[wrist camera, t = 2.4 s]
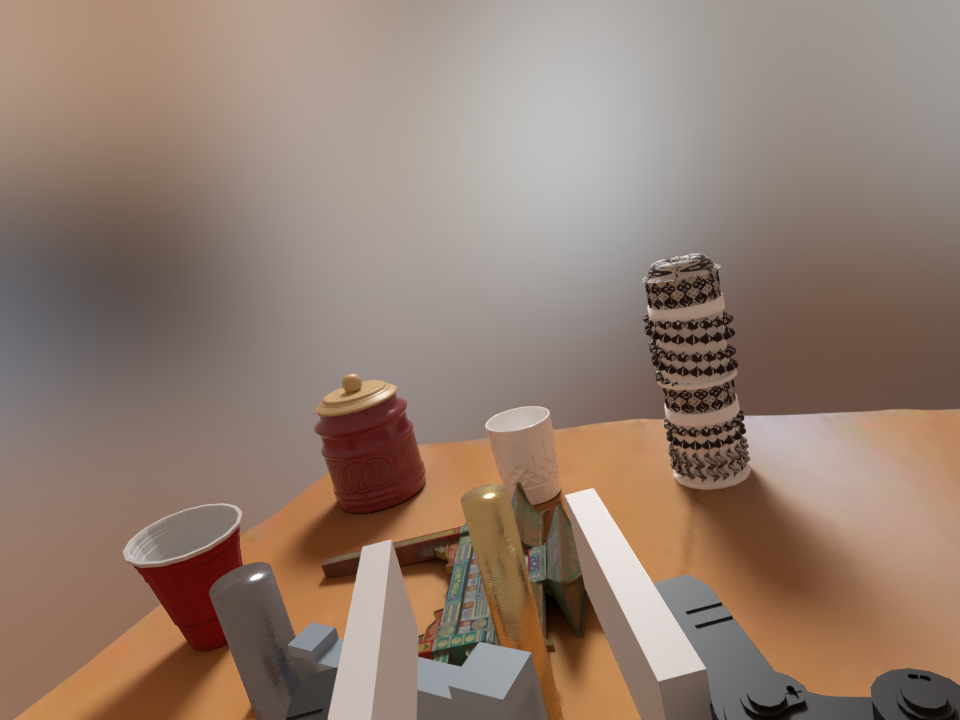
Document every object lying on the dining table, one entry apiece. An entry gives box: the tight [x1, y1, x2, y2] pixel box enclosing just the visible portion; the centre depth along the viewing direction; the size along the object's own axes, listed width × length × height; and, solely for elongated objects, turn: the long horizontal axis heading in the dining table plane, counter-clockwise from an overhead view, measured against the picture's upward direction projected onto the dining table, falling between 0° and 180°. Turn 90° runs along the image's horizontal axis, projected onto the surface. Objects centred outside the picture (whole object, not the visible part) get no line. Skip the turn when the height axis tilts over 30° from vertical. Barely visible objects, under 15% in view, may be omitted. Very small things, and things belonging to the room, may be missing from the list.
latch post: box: [461, 484, 564, 720], centre depth 40 cm, size 3×3×18 cm
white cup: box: [485, 406, 561, 505], centre depth 75 cm, size 8×8×10 cm
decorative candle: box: [642, 253, 751, 490], centre depth 68 cm, size 9×9×25 cm
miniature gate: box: [321, 482, 588, 667], centre depth 58 cm, size 27×6×30 cm
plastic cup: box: [123, 503, 243, 651], centre depth 62 cm, size 11×11×12 cm
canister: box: [314, 374, 426, 513], centre depth 86 cm, size 13×13×18 cm
